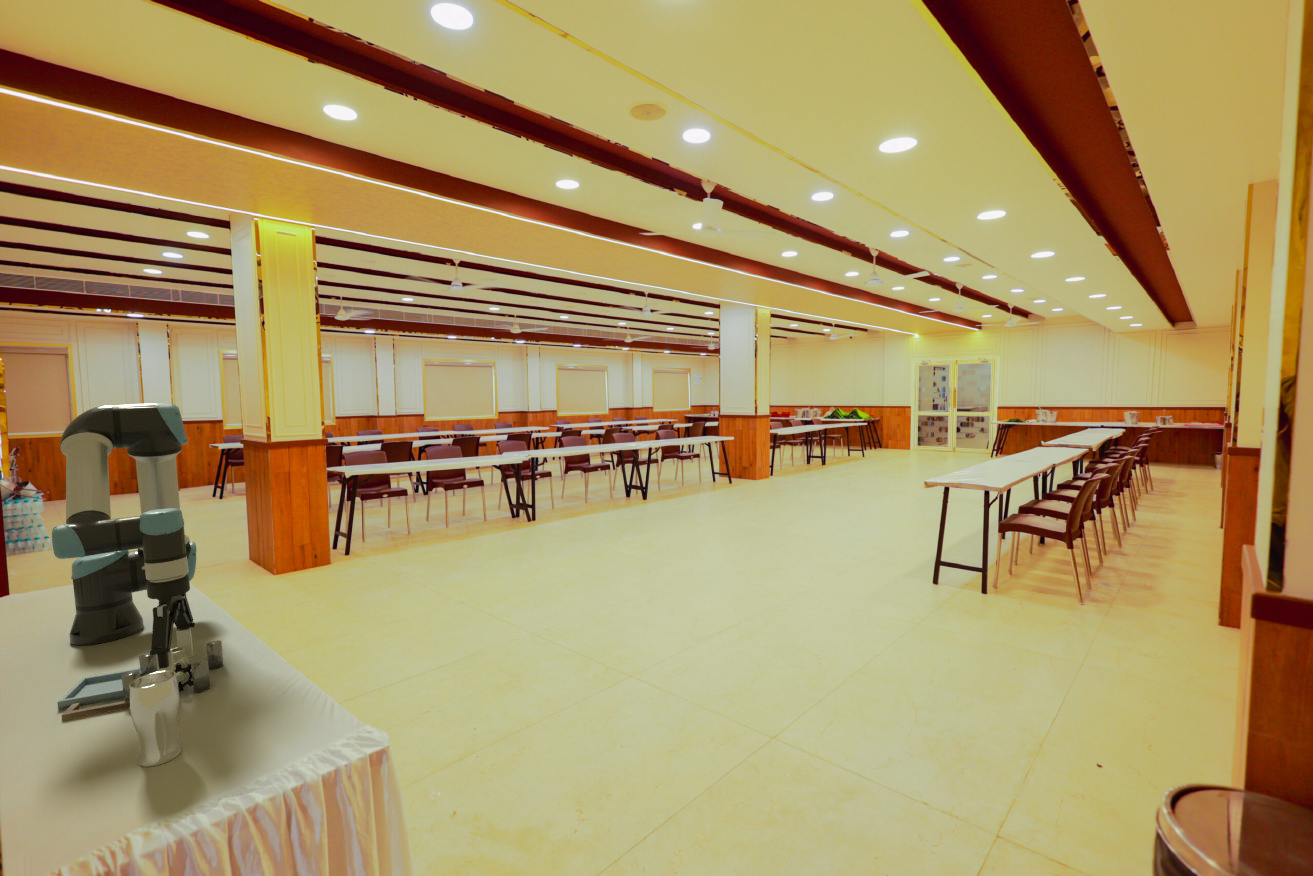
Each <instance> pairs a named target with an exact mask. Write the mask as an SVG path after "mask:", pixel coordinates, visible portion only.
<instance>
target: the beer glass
mask: <svg viewBox="0 0 1313 876" xmlns="http://www.w3.org/2000/svg"><path fill="white" fill-rule="evenodd" d="M178 685H179V683H178V682H177V677H176V672H174V671H159V672H154V673H150V674H147V675H144V676H141V677H139V678H137V679H135V680H134V681H132V682H131V683H130V685H129V687H130V708H129V710H130V716H131V719H132V720H131V721H132V724H133V726H134V728H135V732H136V733H137V736H138V737H137V738H138V739H139V745H140V750H139V758H138V759H139V761H138V765H140V767H143V768H150V767H157V766H160V765H162V764H165V763H166V764H167V763H168V762H170V761H172V760H174V759H175V758H177V757H178V756H179V755H180V754H181V753H182V749H183V748H182V744H181V742H180V739H179V736H178V735H179V734H178V725H179V724H178V723H179V716H180V705H181V697H180V696H181V694H180V693H181V692H180V693H179V687H178Z"/></svg>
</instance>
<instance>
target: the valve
mask: <svg viewBox="0 0 1313 876" xmlns="http://www.w3.org/2000/svg"><path fill="white" fill-rule="evenodd" d="M170 650H172V652H173V662H174V672H176V677H177V682H178V687H179V693H183V692H184V691H185V687H186V686H189V687H193V679H192V668H191V665H192V664H193V663H190V662H189V657H186V656H185V648H184V647H172V648H170ZM187 676H188V678H187V680H186V681H185V682H183V681H184V680H185V678H186V677H187ZM182 682H183V683H182Z"/></svg>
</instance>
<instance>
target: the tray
mask: <svg viewBox="0 0 1313 876" xmlns="http://www.w3.org/2000/svg"><path fill="white" fill-rule="evenodd" d="M131 671H140V667H139V668H132V669H127V670H121V671H115V672H109V673H104V674H97V675H96V674H95V675H90V676H84V677H82V678H81V679H79V680H78V682H77V683H75V684H74V685H73V687H71V688H70V689H69V690H68V691H67V692H66V693H65V694H64V695H63V696H62V697H61V698H60V699H59V700H58V701H57V710H58V711H61V710H65V709H66V710H67V709H68V708H69V707H70V706H71V705H72V704H76V703H80V707H81V706H82V707H83V706H86V705H93V704H98V703H104V702H110V701H115V700H121V699H124V694H123V685H122V675H123V674H125V673H128V672H131ZM140 677H141V671H140Z"/></svg>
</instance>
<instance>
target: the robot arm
mask: <svg viewBox="0 0 1313 876" xmlns="http://www.w3.org/2000/svg"><path fill="white" fill-rule="evenodd" d="M186 433H187V432H186V430H185V426H184V422H183V418H182V414H181V412H180V408H179V407H178V406H177V405H176V404H174V403H158V402H156V403H155V402H154V403H133V404H132V403H130V404H105V405H104V404H103V405H99V406H96V407H92V408H91V409H87V410H86V411H84V412H83V413H81V414H79V415H78V416H76V417H75V418H74V419H73V420H72V421H70V423H69V424H68V425H67V427H65V429H64V430H63V433H62V435H61V439H60V452H61V453H62V454H63V455H64V457H65V458H66V462H65V463H66V464H65V465H66V466H65V468H66V471H65V478H66V479H65V523H64V524H61V525H56V526H54V527H53V528H52V530H51V543H52V544H51V545H52V551H53V554H54V557H55V558H57V559H59V560H60V559H61V560H66V559H75V560H73V562H72V563H71V577H70V578H71V580H72V585H73V595H74V603H75V605H74V606H75V616H74V619H73V622H72V624H71V628H70V631H69V642H70V644H72V645H74V646H75V645H76V646H89V645H96V644H102V643H103V644H104V643H107V642H112V641H116V640H119V639H122V638H125V637H128V636H130V635H133V634H135V633H137V632H139V631H140V630H142V629H143V628H144V618H143V617H142V614H141V613H140V611H139V610H138V608H137V606H136V604H135V603H134V600H133V593H137V592H142V591H146V593H147V595H146V596H147V598H148V599H151V600H158V605H157V607H156V606H155V607H153V608H152V617H153V619H152V630H151V634H152V635H151V646H150V651H149V653H150V655H155V654H156V662H157V671H158V672H159V671H174V662H173V652H172V650H170V649H171V646H172V638H173V631H174V625H175V627H176V629H177V630H176V631H175V635H176V636H175V637H176V645H177V647H184V648H185V656H186V657H187V658H189V657H193V656H194V648H193V646H194V645H193V636H192V629H191V628H195V627H196V623H195V622H194V617H193V615H192V611H191V608H190V604H189V601H188V598H187V593H188V592H189V591H190V590H191V585H190V581H192V579H193V578H194V577H195V574H196V573H195V572H196V570H197V569H196V568H197V567H196V566H197V545H196V542H194V541H190V537H189V536H188V535H187V534H185V521H184V517H183V516H184V515H183V512H182V510H181V506H180V505H181V503H180V502H181V501H180V494H179V493H180V492H179V482H178V481H179V480H178V479H179V478H178V469H177V458H176V457H177V456H178V455H179V454H180V453H182V451H183V450H182V449H183V448H182V446H185V445H187V444H188V443H189V442H188V438H187V437H188V436H187V434H186ZM113 449H126V451H127V456H129V457H131V458H132V459H134V460H135V467H136V479H137V486H138V487H137V488H138V497H139V505H140V506H139V507H140V515H138V516H137V515H135V516H127V517H121V518H120V517H119V518H112V514H111V513H112V512H111V497H110V496H111V494H110V493H111V490H110V473H109V471H110V469H109V456H110V454H111V453H112V451H113ZM130 550H131V551H130ZM161 646H162V647H161ZM160 647H161V648H160ZM177 647H176V648H177Z"/></svg>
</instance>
